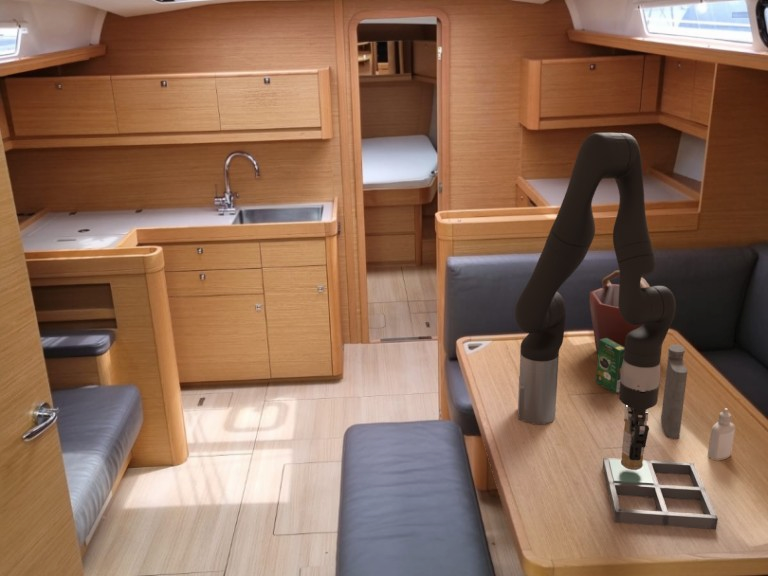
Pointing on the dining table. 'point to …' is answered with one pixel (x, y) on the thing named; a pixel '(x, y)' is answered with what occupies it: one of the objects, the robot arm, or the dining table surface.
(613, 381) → the coffee box
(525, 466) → the dining table surface
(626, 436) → the sprinkles bottle
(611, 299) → the bucket
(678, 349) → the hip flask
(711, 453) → the eye dropper bottle
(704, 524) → the organizer
